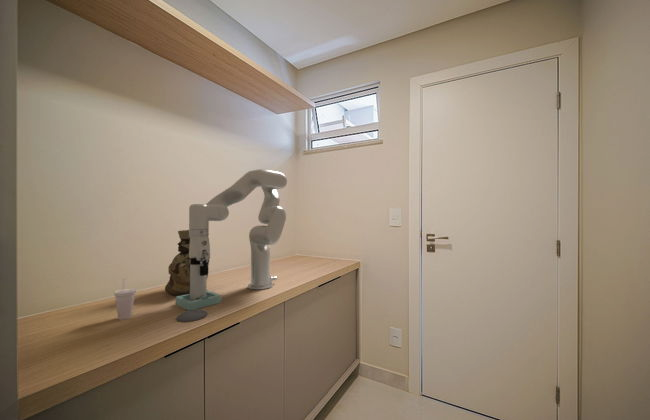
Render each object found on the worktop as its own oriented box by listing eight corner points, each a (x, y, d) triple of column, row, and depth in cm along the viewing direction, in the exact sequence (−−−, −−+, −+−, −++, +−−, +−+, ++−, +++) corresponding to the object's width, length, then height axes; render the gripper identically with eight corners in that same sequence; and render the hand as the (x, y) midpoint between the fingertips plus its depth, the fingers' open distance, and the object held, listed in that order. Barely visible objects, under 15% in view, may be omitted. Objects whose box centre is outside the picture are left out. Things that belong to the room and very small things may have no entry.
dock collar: (206, 296, 118) (206, 287, 118) (221, 302, 109) (221, 292, 110) (175, 304, 108) (175, 294, 108) (189, 311, 99) (189, 300, 100)
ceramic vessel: (159, 300, 113) (160, 231, 114) (168, 288, 132) (169, 229, 133) (207, 295, 120) (207, 230, 121) (209, 284, 140) (209, 228, 140)
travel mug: (200, 306, 105) (200, 256, 105) (186, 305, 106) (186, 256, 107) (210, 301, 111) (210, 254, 112) (196, 300, 112) (197, 254, 113)
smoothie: (117, 315, 95) (117, 277, 95) (138, 313, 98) (138, 276, 98) (110, 322, 89) (111, 281, 90) (133, 319, 92) (133, 279, 92)
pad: (200, 309, 101) (200, 307, 101) (212, 315, 95) (212, 313, 95) (172, 317, 93) (172, 315, 94) (183, 324, 87) (183, 322, 87)
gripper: (217, 233, 107) (217, 275, 106) (198, 232, 118) (198, 269, 117) (199, 234, 101) (198, 278, 100) (181, 233, 112) (180, 272, 112)
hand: (198, 273), depth 109 cm, fingers open, 9 cm apart
